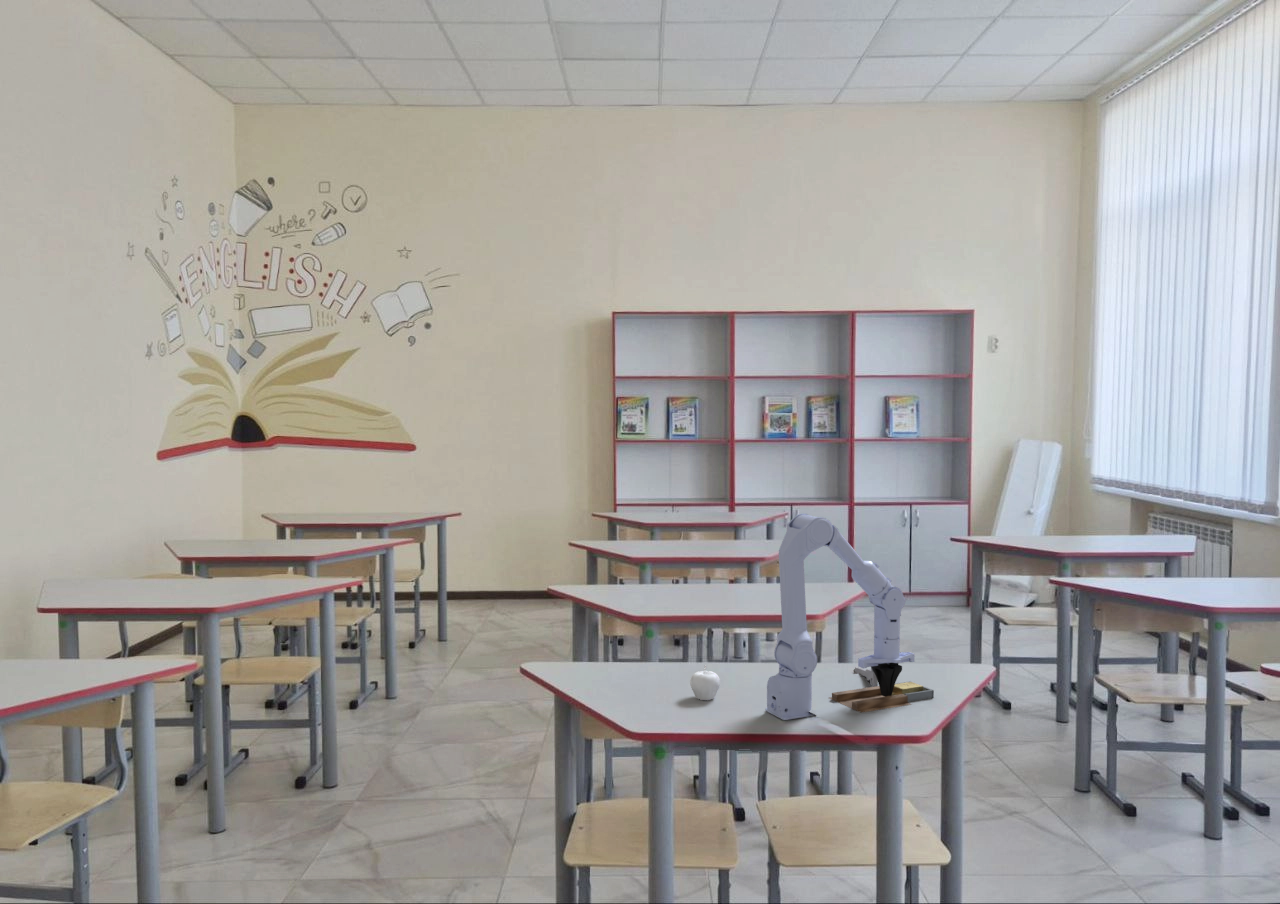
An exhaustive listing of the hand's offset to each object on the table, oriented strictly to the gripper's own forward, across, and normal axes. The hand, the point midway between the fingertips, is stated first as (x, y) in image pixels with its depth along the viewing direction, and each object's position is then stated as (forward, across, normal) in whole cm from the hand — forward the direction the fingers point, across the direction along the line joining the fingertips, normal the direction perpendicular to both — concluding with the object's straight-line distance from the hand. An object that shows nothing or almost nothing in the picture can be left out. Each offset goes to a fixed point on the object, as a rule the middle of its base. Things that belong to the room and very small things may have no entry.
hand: (886, 695), depth 214 cm
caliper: (+2, +7, +17) cm, 19 cm away
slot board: (+2, -5, 0) cm, 5 cm away
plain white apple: (+2, -36, +21) cm, 41 cm away
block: (+1, +6, 0) cm, 6 cm away
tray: (+2, +6, 0) cm, 7 cm away
